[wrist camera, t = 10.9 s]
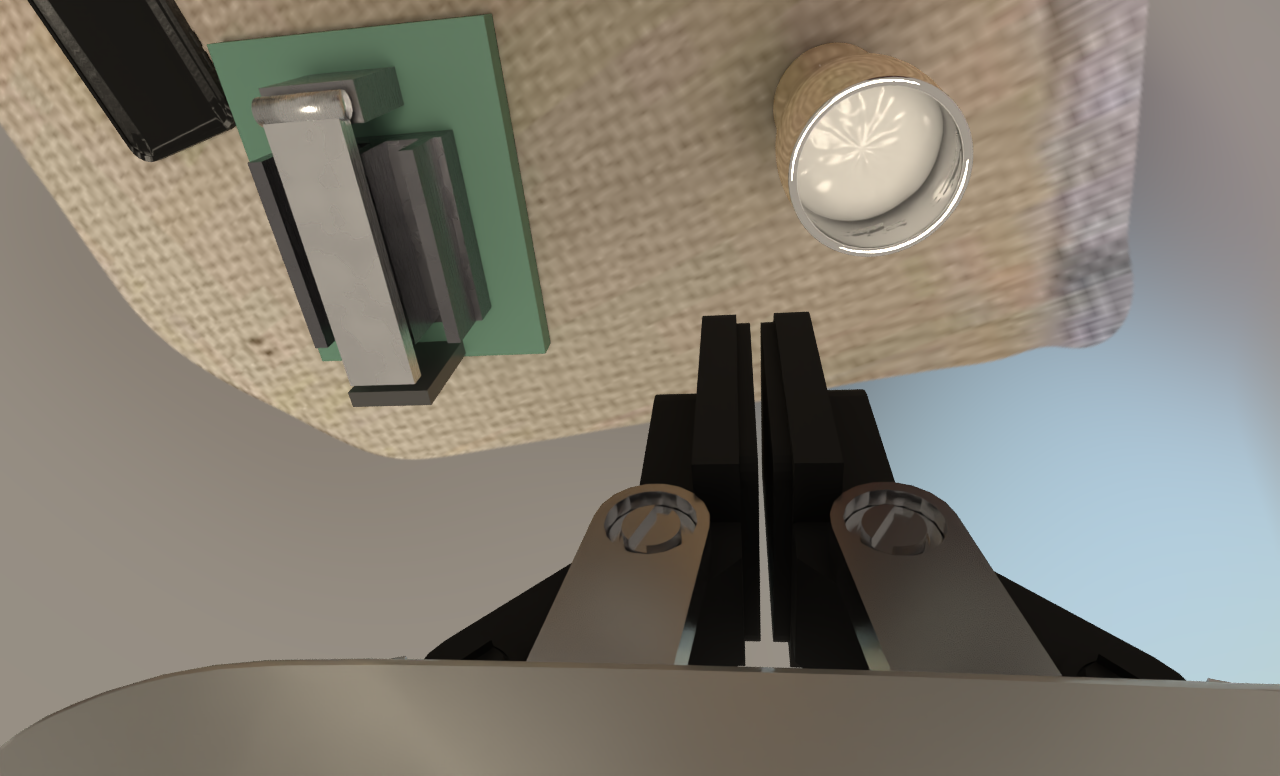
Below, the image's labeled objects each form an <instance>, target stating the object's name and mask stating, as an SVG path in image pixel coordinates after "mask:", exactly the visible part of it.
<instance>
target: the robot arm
mask: <svg viewBox="0 0 1280 776" xmlns="http://www.w3.org/2000/svg"><path fill="white" fill-rule="evenodd" d="M761 417H762V418H761V420H762V421H761V425H762V426H761V427H762V480H763V494H764V510H765V525H766V541H767V556H768V571H769V587H770V602H771V616H772V631H773V641H774V642H788V645H789V657H790V667H799V668H771V667H769V668H768V667H738V666H745V641H761V640H760V639H761V638H760V636H761V635H760V565H759V564H760V563H759V561H760V560H759V488H758V487H759V484H758V455H757V454H758V453H757V437H756V419H755V402H754V385H753V368H752V351H751V334H750V323H739V324H736V315H717V316H703V317H702V328H701V342H700V355H699V369H698V382H697V394H663V395H656V396H655V399H654V404H653V410H652V416H651V422H650V428H649V434H648V439H647V445H646V451H645V457H644V463H643V469H642V475H641V481H640V486H635V487H630V488H628V489H625V490H623V491H621V492H619V493H616V494H614V495H613V496H612V497H610V498H609V499H608V500H607V501H605V502H604V503H603V504H602V505H601V506H600V508H599V509H598V510H597V512H596V513H595V515H594V517H593V519H592V521H591V523H590V525H589V527H588V530H587V532H586V534H585V536H584V538H583V540H582V542H581V545H580V547H579V549H578V551H577V553H576V555H575V557H574V560H573V562H572V563H571V564H569V565H567V566H566V567H564V568H563V569H561V570H559V571H558V572H556V573H554V574H553V575H551V576H550V577H548V578H546V579H545V580H543V581H541V582H540V583H538V584H537V585H535V586H533V587H532V588H530V589H529V590H527V591H525V592H524V593H522V594H520V595H519V596H517V597H515V598H514V599H512V600H510V601H509V602H508V603H506V604H504V605H502V606H501V607H499V608H497V609H496V610H494V611H493V612H491V613H489V614H488V615H486V616H484V617H483V618H481V619H480V620H478V621H476V622H475V623H473V624H471V625H470V626H468V627H466V628H465V629H463V630H462V631H460V632H459V633H457V634H455V635H453V636H452V637H450V638H449V639H447V640H446V641H444V642H443V643H441V644H440V645H439V646H438V647H436V648H435V649H434V650H432V651H431V652H430V653H429V654H428V655H427V656H426V657H425V659H407V657H406V656H403V657H397V658H391V659H369V658H368V659H312V660H311V659H308V660H307V659H306V660H264V661H253V662H242V663H232V664H221V665H212V666H207V667H202V668H196V669H190V670H185V671H180V672H174V673H170V674H163V675H160V676H157V677H154V678H150V679H146V680H143V681H140V682H136V683H133V684H130V685H126V686H123V687H119V688H116V689H112V690H109V691H106V692H103V693H101V694H98V695H95V696H93V697H91V698H88V699H85V700H83V701H80V702H77V703H75V704H72V705H70V706H68V707H66V708H64V709H62V710H59V711H57V712H55V713H53V714H50V715H48V716H46V717H44V718H42V719H41V720H39V721H38V722H36V723H34V724H33V725H31V726H30V727H28V728H26V729H24V730H23V731H21V732H20V733H18V734H16V735H15V736H14V737H12V738H11V739H10V740H9V741H7V742H6V743H5V744H3V745H2V746H1V747H0V776H1280V684H1249V683H1230V682H1225V681H1220V680H1214V679H1210V678H1208V679H1207V681H1206V682H1201V681H1186V680H1185V679H1184V678H1183V677H1182V676H1181V675H1180V674H1179V673H1177V672H1176V671H1174V670H1173V669H1171V668H1170V667H1168V666H1166V665H1165V664H1164V663H1162V662H1160V661H1159V660H1157V659H1156V658H1154V657H1152V656H1151V655H1149V654H1147V653H1145V652H1143V651H1141V650H1139V649H1138V648H1136V647H1134V646H1132V645H1130V644H1128V643H1126V642H1124V641H1123V640H1121V639H1119V638H1117V637H1115V636H1113V635H1112V634H1110V633H1108V632H1106V631H1104V630H1102V629H1100V628H1098V627H1097V626H1095V625H1093V624H1091V623H1089V622H1087V621H1085V620H1084V619H1082V618H1080V617H1078V616H1076V615H1074V614H1073V613H1071V612H1069V611H1067V610H1065V609H1063V608H1061V607H1060V606H1057V605H1056V604H1054V603H1052V602H1050V601H1048V600H1046V599H1045V598H1043V597H1041V596H1039V595H1037V594H1035V593H1034V592H1031V591H1030V590H1028V589H1026V588H1024V587H1022V586H1020V585H1019V584H1017V583H1015V582H1013V581H1011V580H1009V579H1007V578H1006V577H1004V576H1002V575H1000V574H998V573H996V572H994V571H993V569H992V568H991V566H990V565H989V563H988V562H987V560H986V559H985V557H984V555H983V554H982V552H981V551H980V549H979V548H978V546H977V545H976V543H975V542H974V540H973V539H972V537H971V536H970V534H969V532H968V531H967V529H966V528H965V526H964V525H963V523H962V522H961V520H960V519H959V517H958V516H957V514H956V513H955V512H954V511H953V510H952V509H951V508H950V507H949V505H948V504H947V503H946V502H944V501H943V500H941V499H940V498H938V497H937V496H935V495H933V494H932V493H930V492H927V491H925V490H922V489H919V488H917V487H914V486H912V485H906V484H901V483H895V481H894V478H893V474H892V471H891V468H890V465H889V462H888V459H887V456H886V453H885V450H884V446H883V443H882V441H881V437H880V434H879V431H878V428H877V425H876V421H875V418H874V415H873V412H872V409H871V406H870V403H869V400H868V396H867V394H866V392H865V390H863V389H859V390H858V389H857V390H827V387H826V382H825V378H824V374H823V369H822V365H821V361H820V356H819V352H818V348H817V344H816V339H815V335H814V331H813V326H812V322H811V318H810V314H809V312H790V313H774V320H773V322H764V323H761ZM800 667H801V668H800Z"/></svg>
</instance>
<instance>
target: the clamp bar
mask: <svg viewBox="0 0 1280 776" xmlns="http://www.w3.org/2000/svg"><path fill="white" fill-rule="evenodd" d="M251 109H252V114H253V117H254V119H255V121H256V122H257V123H258V124H259V125H260V126H261V127H264V130H265V133H266V136H267V139H268V142H269V145H270V148H271V151H272V154H273V157H274V160H275V163H276V166H277V169H278V172H279V175H280V178H281V181H282V183H283V186H284V189H285V192H286V195H287V198H288V201H289V204H290V207H291V210H292V213H293V216H294V219H295V222H296V225H297V228H298V231H299V234H300V237H301V240H302V243H303V246H304V249H305V252H306V255H307V258H308V261H309V263H310V266H311V269H312V272H313V275H314V278H315V281H316V284H317V287H318V290H319V293H320V296H321V299H322V302H323V305H324V308H325V311H326V314H327V317H328V320H329V323H330V326H331V329H332V332H333V335H334V338H335V341H336V344H337V346H338V349H339V352H340V355H341V358H342V361H343V364H344V367H345V370H346V373H347V376H348V379H349V382H350V385H351V386H367V385H401V384H415V383H416V382H417V381H418V379H419V378H420V377H421V373H420V369H419V366H418V362H417V359H416V355H415V351H414V348H413V344H412V341H411V337H410V334H409V330H408V326H407V323H406V319H405V316H404V312H403V308H402V305H401V301H400V298H399V294H398V291H397V287H396V283H395V280H394V276H393V273H392V269H391V265H390V262H389V258H388V255H387V251H386V248H385V244H384V240H383V237H382V233H381V230H380V226H379V222H378V219H377V215H376V212H375V208H374V205H373V201H372V197H371V194H370V190H369V187H368V183H367V179H366V176H365V172H364V169H363V165H362V162H361V158H360V154H359V151H358V147H357V144H356V140H355V136H354V133H353V129H352V126H351V122H350V119H351V117H352V105H351V101H350V98H349V96H348V95H347V93H346V92H345V91H344V90H342V89H339V90H329V91H318V92H307V93H296V94H286V95H275V96H264V97H255V98H254V99H253V100H252V104H251Z"/></svg>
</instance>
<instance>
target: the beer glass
mask: <svg viewBox="0 0 1280 776" xmlns="http://www.w3.org/2000/svg"><path fill="white" fill-rule="evenodd" d="M773 116H774V122H775V125H776V128H777V133H776V141H775V153H776V163H777V169H778V174H779V177H780V180H781V183H782V186H783V189H784V191H785V194H786V196H787V198H788V199H789V201H790V203H791V205H792V207H793V208H794V211H795V213H796V215H797V217H798V219H799V220H800V222H801V224H802V225H803V226H804V228H805V229H806V230H807V231H808V232H809V233H810V234H811V235H812V236H813V237H814V238H815V239H816V240H818V241H819V242H820V243H822V244H823V245H825V246H827V247H829V248H831V249H833V250H835V251H838V252H841V253H844V254H848V255H853V256H862V257H873V256H882V255H888V254H892V253H896V252H899V251H902V250H904V249H907V248H909V247H911V246H913V245H915V244H917V243H919V242H921V241H922V240H924V239H925V238H927V237H928V236H929V235H931V234H932V233H933V232H935V231H936V230H937V229H938V228H939V227H940V226H941V225H942V224H943V223H944V222H945V221H946V220H947V219H948V218H949V217H950V215H951V214H952V213H953V211H954V210H955V208H956V207H957V205H958V204H959V202H960V200H961V199H962V197H963V195H964V192H965V190H966V188H967V185H968V182H969V179H970V175H971V171H972V164H973V143H972V137H971V132H970V129H969V126H968V123H967V121H966V119H965V117H964V115H963V113H962V111H961V110H960V108H959V107H958V105H957V104H956V103H955V102H954V101H953V100H952V99H951V98H950V97H949V96H948V95H947V94H946V93H945V92H944V91H943V90H942V89H941V88H940V87H939V86H938V85H937V84H936V83H935V82H934V81H933V80H932V79H931V78H930V77H928V76H927V75H926V74H924V73H923V72H922V71H920V70H919V69H918V68H916V67H915V66H913V65H911V64H909V63H907V62H905V61H902V60H899V59H897V58H894V57H891V56H887V55H883V54H875V53H868V52H867V51H865V50H864V49H862V48H860V47H858V46H855V45H852V44H848V43H841V42H835V43H827V44H822V45H819V46H816V47H814V48H811V49H809V50H808V51H806V52H804V53H803V54H801V55H800V56H799V57H798V58H797V59H796V60H795V61H794V62H793V63H792V64H791V65H790V66H789V67H788V68H787V70H786V71H785V72H784V74H783V76H782V77H781V79H780V81H779V83H778V86H777V88H776V92H775V96H774V102H773Z"/></svg>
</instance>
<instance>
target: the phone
mask: <svg viewBox="0 0 1280 776" xmlns="http://www.w3.org/2000/svg"><path fill="white" fill-rule="evenodd" d="M28 2H29V3H30V5H31V6H32V8H33V9H34V11H35V12H36V13H37V15H38V16H39V18H40V19H41V21H42V22H43V24H44V25H45V27H46V28H47V29H48V31H49V32H50V34H51V35H52V37H53V38H54V40H55V41H56V43H57V44H58V45H59V47H60V48H61V50H62V51H63V53H64V54H65V56H66V57H67V59H68V60H69V61H70V63H71V64H72V66H73V67H74V69H75V70H76V72H77V73H78V75H79V76H80V77H81V79H82V80H83V82H84V83H85V85H86V86H87V88H88V89H89V91H90V92H91V93H92V95H93V96H94V98H95V99H96V101H97V102H98V104H99V105H100V107H101V108H102V109H103V111H104V112H105V114H106V115H107V117H108V118H109V120H110V121H111V123H112V124H113V126H114V127H115V128H116V130H117V131H118V133H119V134H120V136H121V137H122V139H123V140H124V142H125V143H126V144H127V146H128V147H129V149H130V150H131V151H132V152H133V154H134V155H136V156H137V157H138V158H140V159H142V160H144V161H148V162H154V161H158V160H160V159H163V158H166V157H168V156H170V155H173V154H175V153H177V152H180V151H182V150H184V149H186V148H189V147H191V146H193V145H196V144H198V143H200V142H202V141H205V140H207V139H209V138H212V137H214V136H216V135H219V134H221V133H223V132H225V131H228V130H230V129H232V128H234V127H235V126H236V123H235V120H234V118H233V115H232V112H231V110H230V107H229V104H228V101H227V99H226V96H225V93H224V90H223V88H222V85H221V82H220V79H219V77H218V74H217V71H216V70H215V68H214V66H213V64H212V63H211V61H210V59H209V58H208V56H207V54H206V53H205V51H204V49H203V48H202V45H201V44H200V42H199V40H198V39H197V37H196V35H195V34H194V32H193V31H192V29H191V28H190V26H189V24H188V23H187V21H186V19H185V18H184V16H183V14H182V13H181V11H180V9H179V8H178V6H177V4H176V3H175V1H174V0H28Z"/></svg>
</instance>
